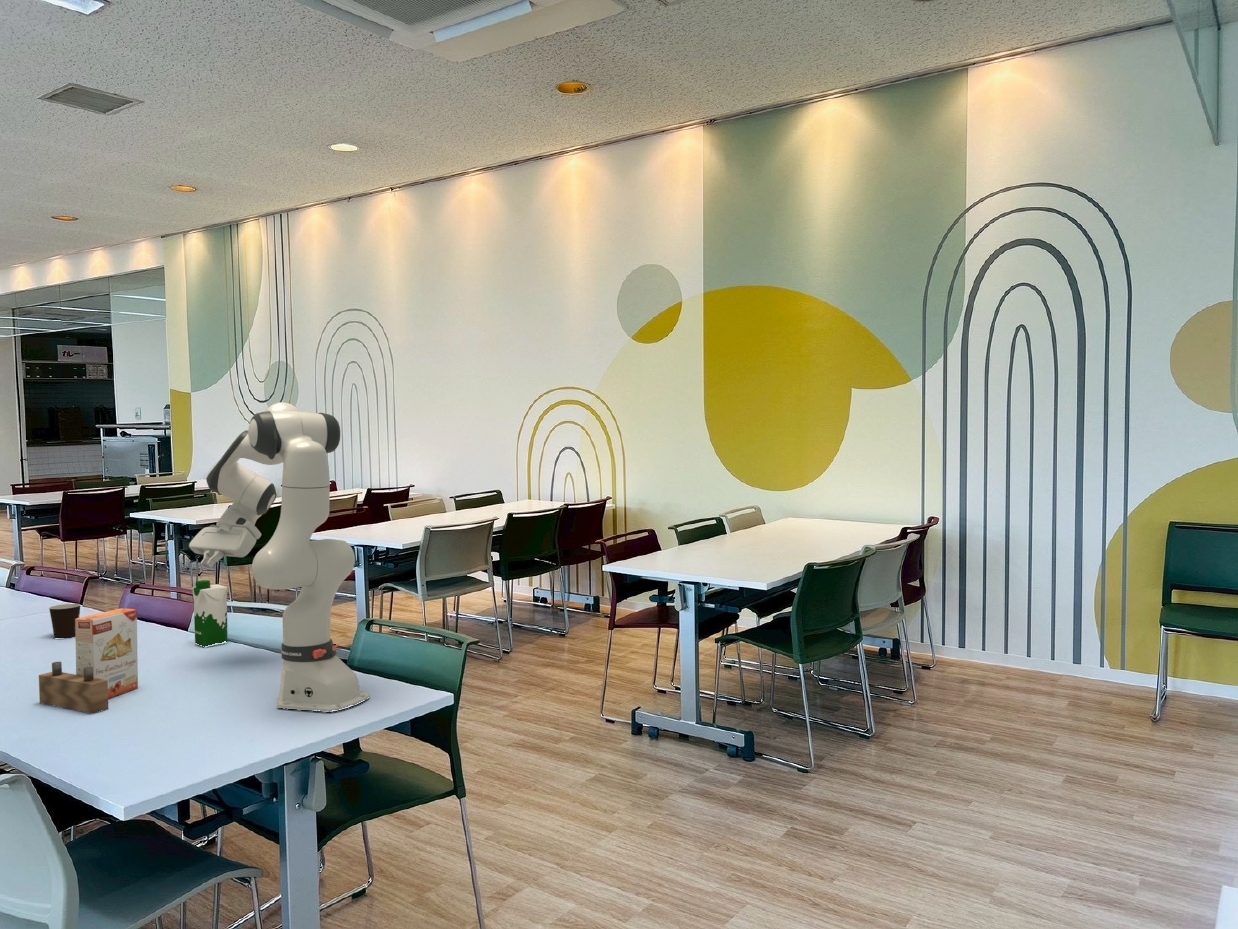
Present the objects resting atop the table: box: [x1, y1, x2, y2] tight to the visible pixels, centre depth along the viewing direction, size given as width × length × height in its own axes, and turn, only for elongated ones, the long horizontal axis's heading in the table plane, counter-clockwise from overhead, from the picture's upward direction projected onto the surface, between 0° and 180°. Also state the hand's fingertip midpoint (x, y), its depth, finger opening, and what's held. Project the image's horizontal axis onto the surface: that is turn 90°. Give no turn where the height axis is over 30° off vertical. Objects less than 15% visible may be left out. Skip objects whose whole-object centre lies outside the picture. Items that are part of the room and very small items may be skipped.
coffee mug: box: [49, 603, 81, 639], centre depth 291 cm, size 12×9×10 cm
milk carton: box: [191, 579, 229, 648], centre depth 278 cm, size 9×9×20 cm
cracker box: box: [75, 607, 139, 699], centre depth 224 cm, size 14×6×21 cm, turn 165°
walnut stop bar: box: [38, 661, 109, 715], centre depth 216 cm, size 20×4×10 cm, turn 64°
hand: (205, 565), depth 245 cm, fingers closed
